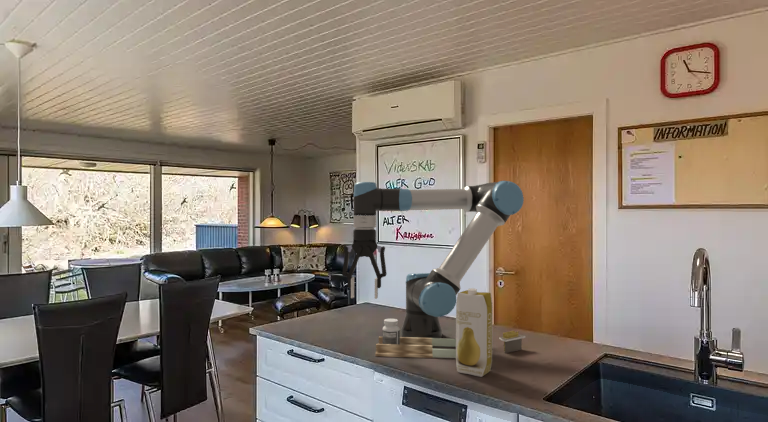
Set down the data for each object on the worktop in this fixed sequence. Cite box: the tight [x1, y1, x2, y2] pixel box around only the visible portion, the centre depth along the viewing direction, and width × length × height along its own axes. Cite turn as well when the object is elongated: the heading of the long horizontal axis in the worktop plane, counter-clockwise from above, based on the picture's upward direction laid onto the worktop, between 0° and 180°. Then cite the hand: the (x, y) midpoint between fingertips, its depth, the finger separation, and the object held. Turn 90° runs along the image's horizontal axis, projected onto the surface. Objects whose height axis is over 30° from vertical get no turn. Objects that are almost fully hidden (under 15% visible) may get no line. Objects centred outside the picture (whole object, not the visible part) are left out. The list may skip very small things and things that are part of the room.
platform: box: [498, 330, 526, 354], centre depth 164 cm, size 12×18×7 cm, turn 124°
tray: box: [432, 337, 456, 359], centre depth 162 cm, size 14×14×2 cm
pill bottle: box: [382, 318, 401, 344], centre depth 164 cm, size 6×6×10 cm
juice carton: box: [455, 287, 493, 378], centre depth 142 cm, size 9×8×24 cm
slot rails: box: [374, 336, 434, 359], centre depth 163 cm, size 18×15×3 cm
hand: (364, 297), depth 164 cm, fingers open, 7 cm apart
